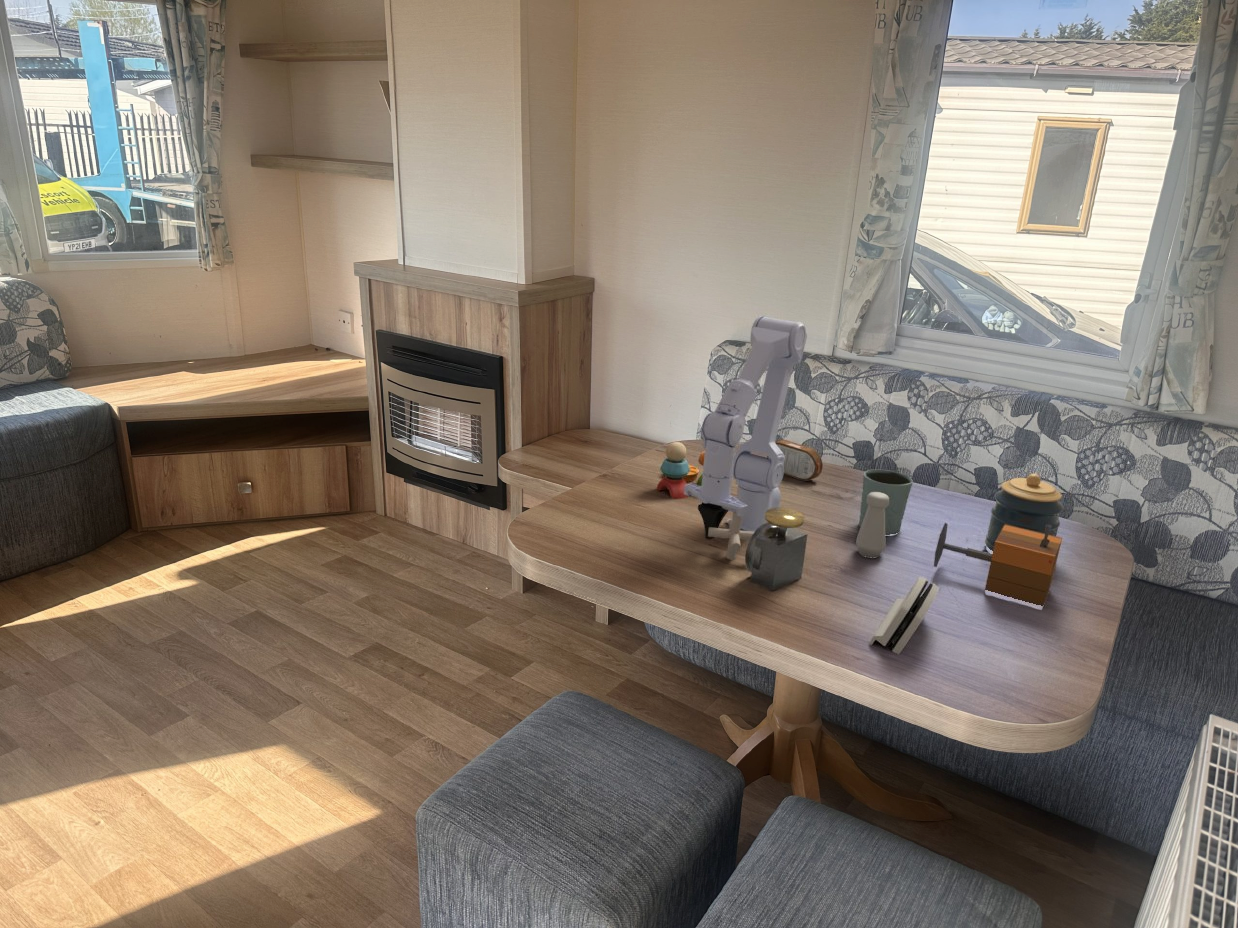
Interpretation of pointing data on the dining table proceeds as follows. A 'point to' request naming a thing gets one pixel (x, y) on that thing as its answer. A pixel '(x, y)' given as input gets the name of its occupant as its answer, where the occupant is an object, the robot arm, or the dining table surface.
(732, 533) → the pipe connector
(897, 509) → the green cup
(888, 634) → the beige slotted block
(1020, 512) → the canister
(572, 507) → the dining table surface
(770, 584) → the kitchen scale
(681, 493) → the colourful wooden stacking toy
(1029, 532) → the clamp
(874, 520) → the salt shaker
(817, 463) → the tin
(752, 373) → the robot arm
